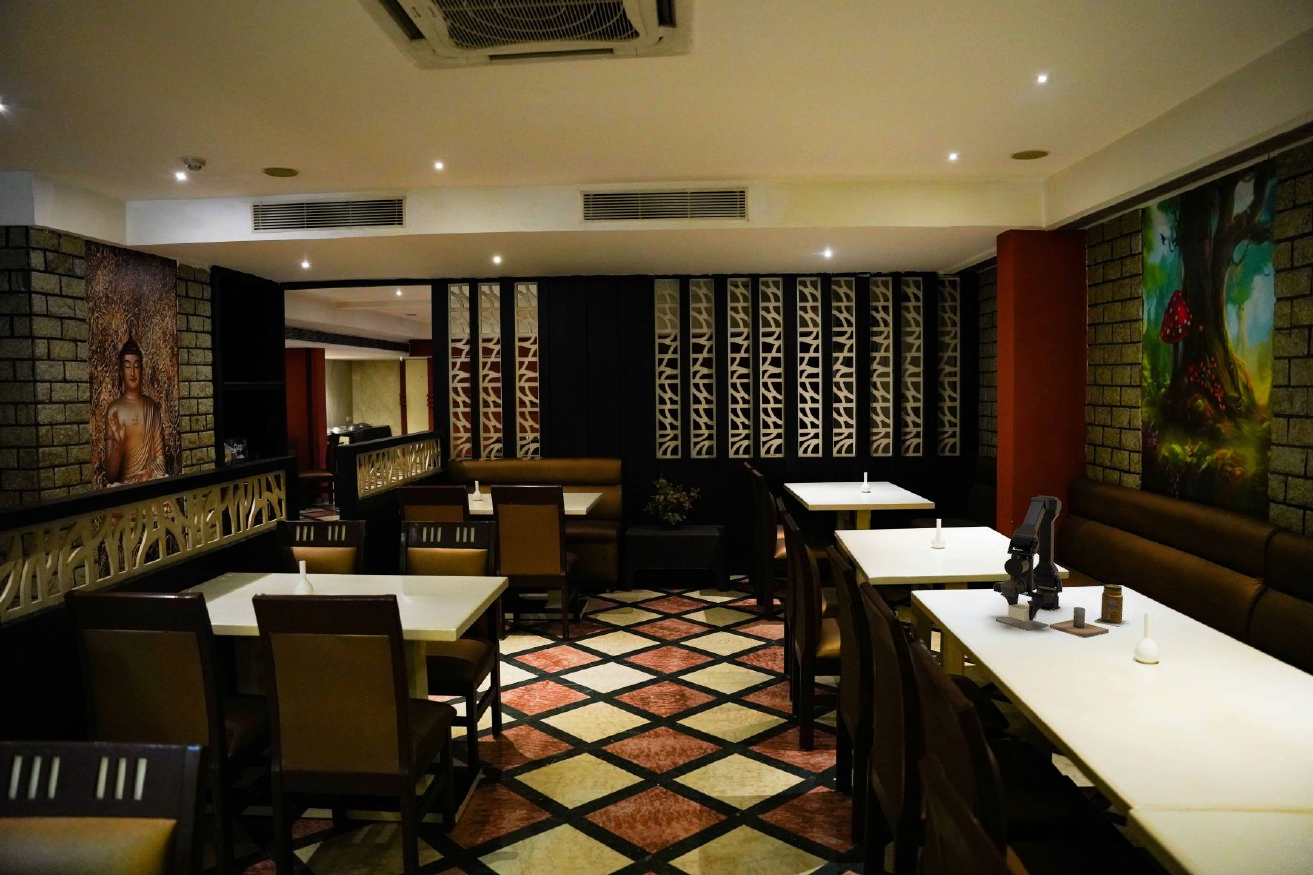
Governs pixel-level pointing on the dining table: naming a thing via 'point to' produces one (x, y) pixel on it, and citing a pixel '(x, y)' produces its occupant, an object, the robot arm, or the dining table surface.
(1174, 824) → the dining table surface
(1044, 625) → the pad
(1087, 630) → the post base
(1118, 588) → the condiment
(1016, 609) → the tan cardboard carton
